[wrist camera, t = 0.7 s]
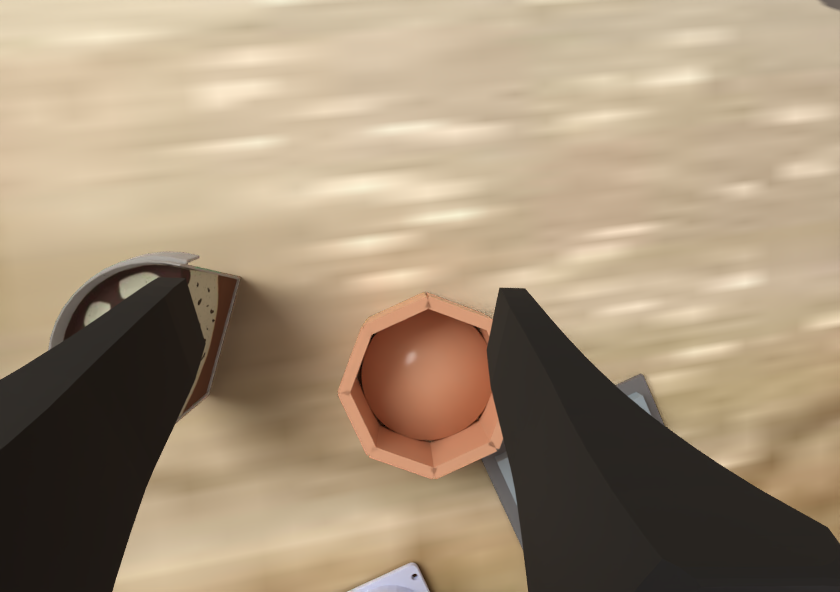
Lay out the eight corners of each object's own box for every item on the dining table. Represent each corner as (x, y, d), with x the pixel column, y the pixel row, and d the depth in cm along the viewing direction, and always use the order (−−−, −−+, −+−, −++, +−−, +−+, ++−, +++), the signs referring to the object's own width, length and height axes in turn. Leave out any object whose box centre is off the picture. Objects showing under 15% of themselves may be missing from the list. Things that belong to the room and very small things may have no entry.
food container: (164, 233, 35) (67, 221, 25) (246, 257, 35) (182, 254, 25) (123, 392, 35) (12, 442, 25) (203, 414, 36) (125, 472, 26)
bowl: (526, 409, 36) (543, 429, 32) (390, 471, 36) (388, 500, 32) (465, 272, 35) (474, 274, 31) (326, 336, 35) (314, 347, 31)
